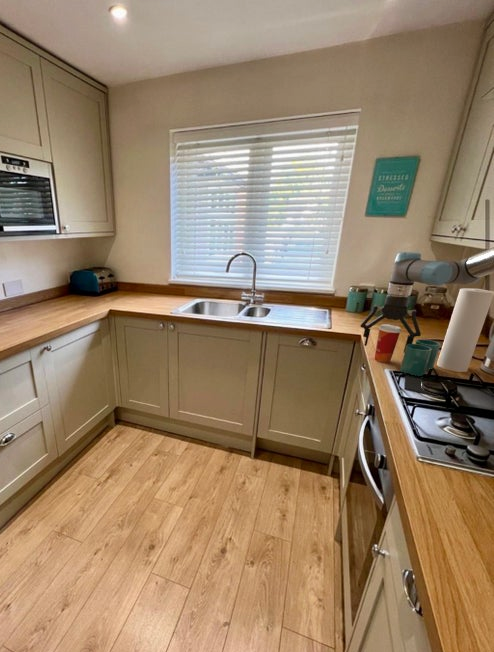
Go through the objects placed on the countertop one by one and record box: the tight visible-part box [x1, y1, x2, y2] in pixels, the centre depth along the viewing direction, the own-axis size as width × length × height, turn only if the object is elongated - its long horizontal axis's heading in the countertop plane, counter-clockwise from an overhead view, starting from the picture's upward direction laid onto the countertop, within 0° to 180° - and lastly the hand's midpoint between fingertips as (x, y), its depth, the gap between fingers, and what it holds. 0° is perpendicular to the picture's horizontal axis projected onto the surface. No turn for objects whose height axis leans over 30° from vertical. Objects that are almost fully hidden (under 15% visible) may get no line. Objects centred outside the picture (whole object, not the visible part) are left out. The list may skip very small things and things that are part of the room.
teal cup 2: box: [414, 338, 441, 372], centre depth 125 cm, size 7×7×10 cm
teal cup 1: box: [399, 343, 432, 377], centre depth 119 cm, size 7×7×10 cm
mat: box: [403, 375, 440, 397], centre depth 110 cm, size 12×12×1 cm
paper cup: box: [374, 323, 402, 364], centre depth 130 cm, size 8×8×14 cm
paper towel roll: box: [436, 287, 494, 373], centre depth 122 cm, size 9×9×30 cm
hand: (384, 348), depth 131 cm, fingers open, 13 cm apart
